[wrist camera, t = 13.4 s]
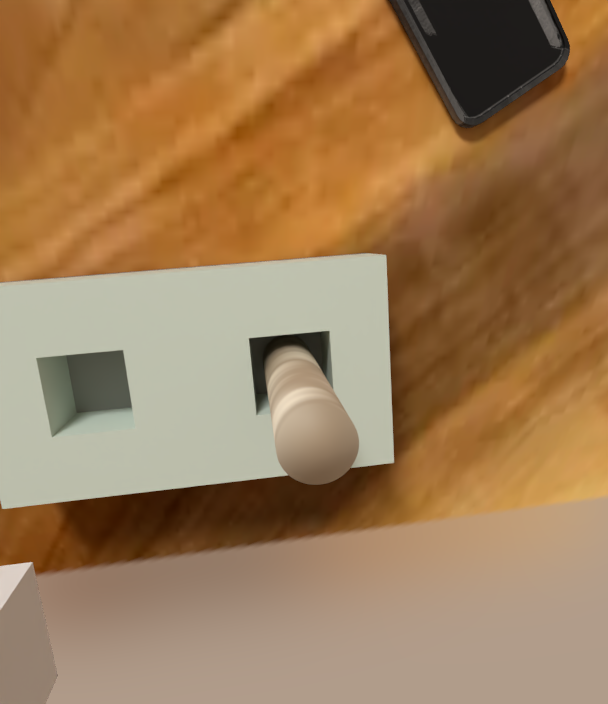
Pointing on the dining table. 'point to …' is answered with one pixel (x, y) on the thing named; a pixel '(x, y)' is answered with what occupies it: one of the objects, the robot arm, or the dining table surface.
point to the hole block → (179, 373)
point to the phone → (484, 50)
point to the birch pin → (306, 415)
